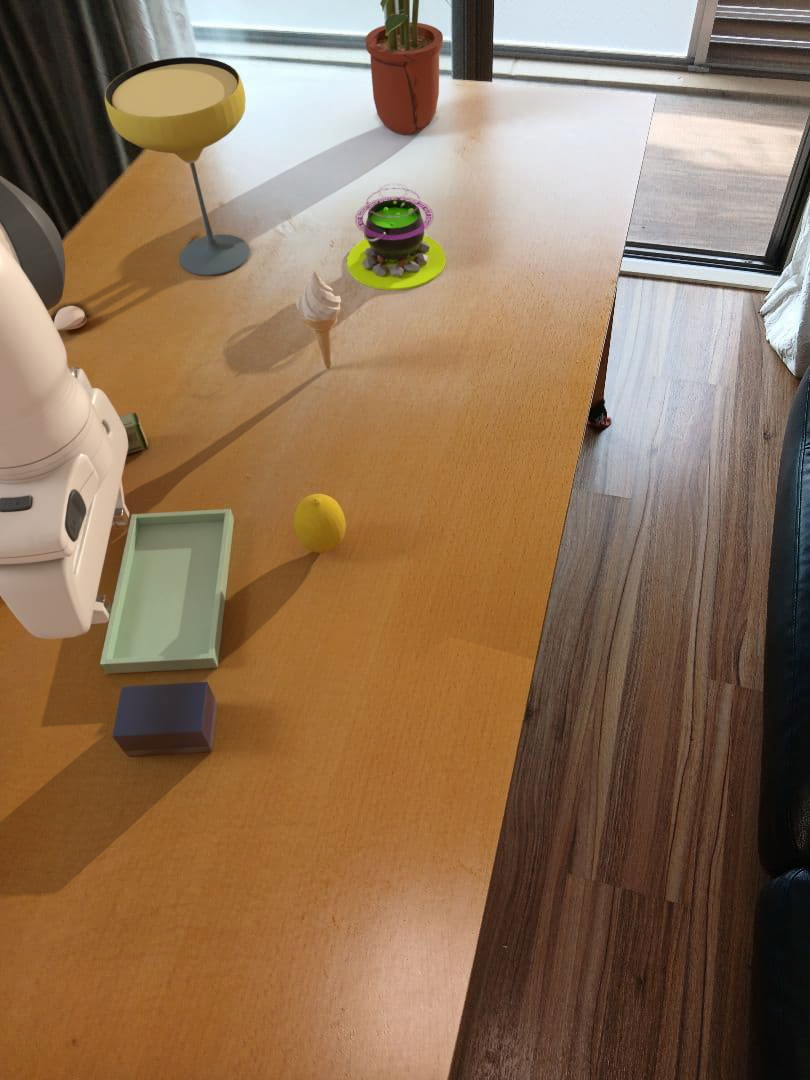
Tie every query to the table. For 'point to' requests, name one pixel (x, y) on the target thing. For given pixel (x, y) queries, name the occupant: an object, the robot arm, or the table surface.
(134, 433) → the medication box
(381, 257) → the toy cauldron
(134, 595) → the tray
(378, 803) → the table surface
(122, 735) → the eraser
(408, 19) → the potted plant
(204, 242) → the cocktail glass
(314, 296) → the ice cream cone
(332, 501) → the lemon
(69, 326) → the white rounded oval piece
